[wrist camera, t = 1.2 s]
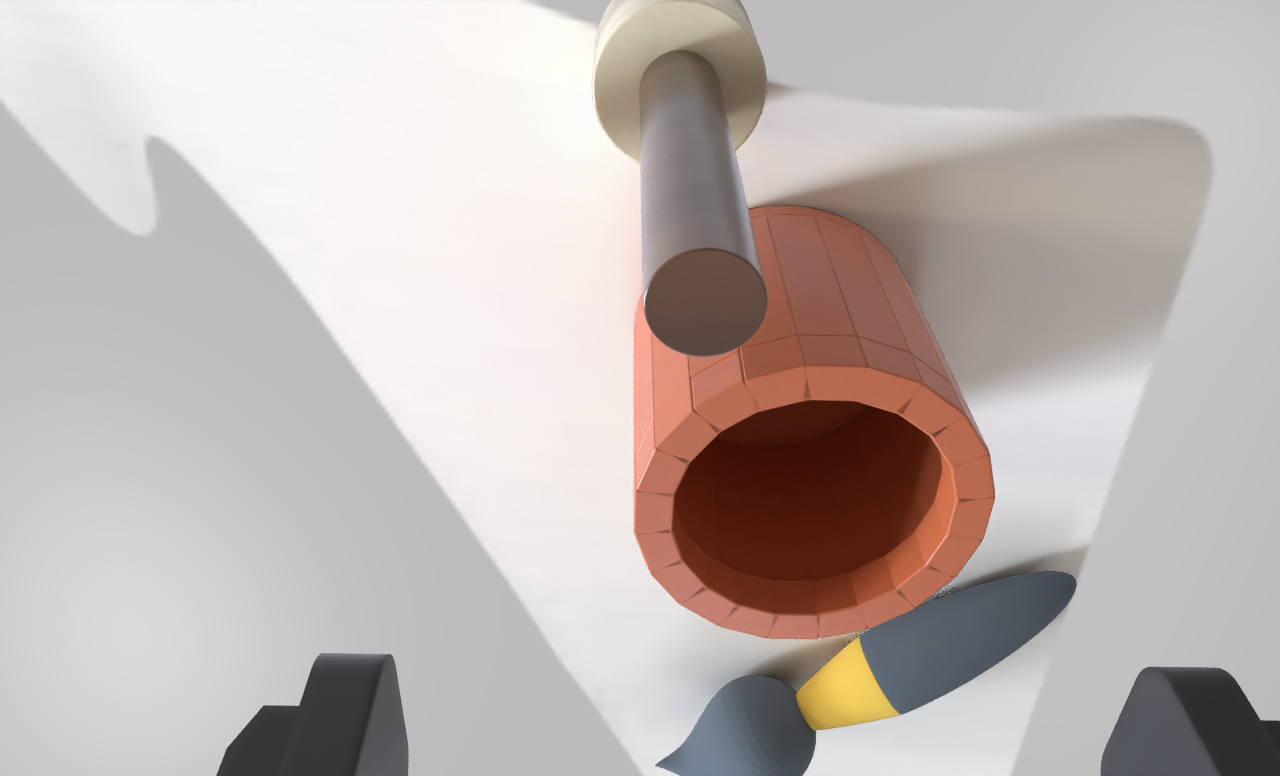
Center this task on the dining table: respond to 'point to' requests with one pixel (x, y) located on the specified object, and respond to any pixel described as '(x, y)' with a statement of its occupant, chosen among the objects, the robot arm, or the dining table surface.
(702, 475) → the jar
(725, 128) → the brown rod with cap
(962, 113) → the dining table surface
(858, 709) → the paintbrush
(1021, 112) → the dining table surface
